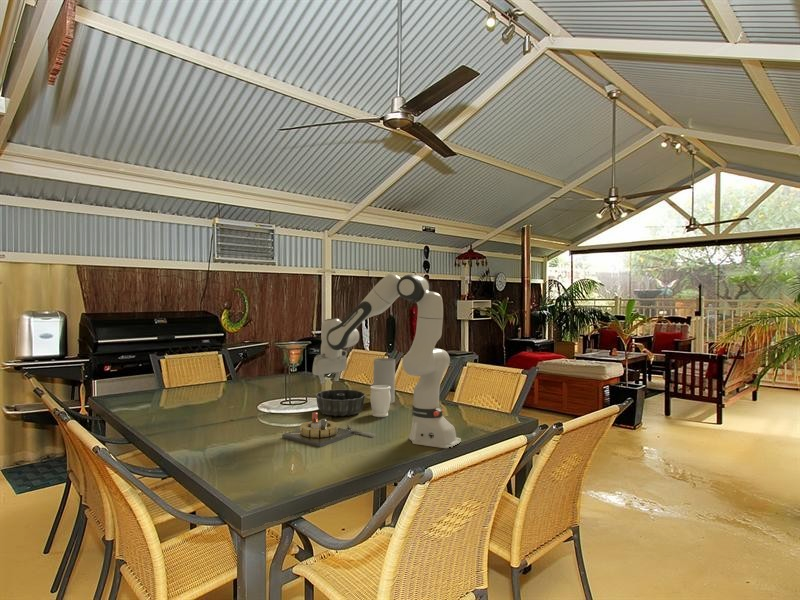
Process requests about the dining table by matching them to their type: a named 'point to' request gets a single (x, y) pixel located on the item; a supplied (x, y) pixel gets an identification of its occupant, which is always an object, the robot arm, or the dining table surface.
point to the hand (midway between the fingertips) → (329, 382)
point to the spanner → (360, 432)
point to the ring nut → (318, 432)
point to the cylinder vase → (385, 374)
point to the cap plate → (314, 440)
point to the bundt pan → (340, 402)
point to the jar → (380, 400)
